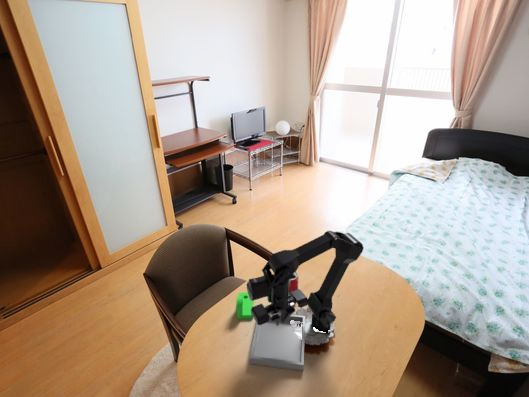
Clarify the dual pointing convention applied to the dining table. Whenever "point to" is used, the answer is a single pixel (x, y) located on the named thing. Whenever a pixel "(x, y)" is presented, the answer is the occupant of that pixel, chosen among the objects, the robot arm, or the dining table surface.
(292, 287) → the soda can
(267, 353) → the tray
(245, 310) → the mechanical part
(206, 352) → the dining table surface
